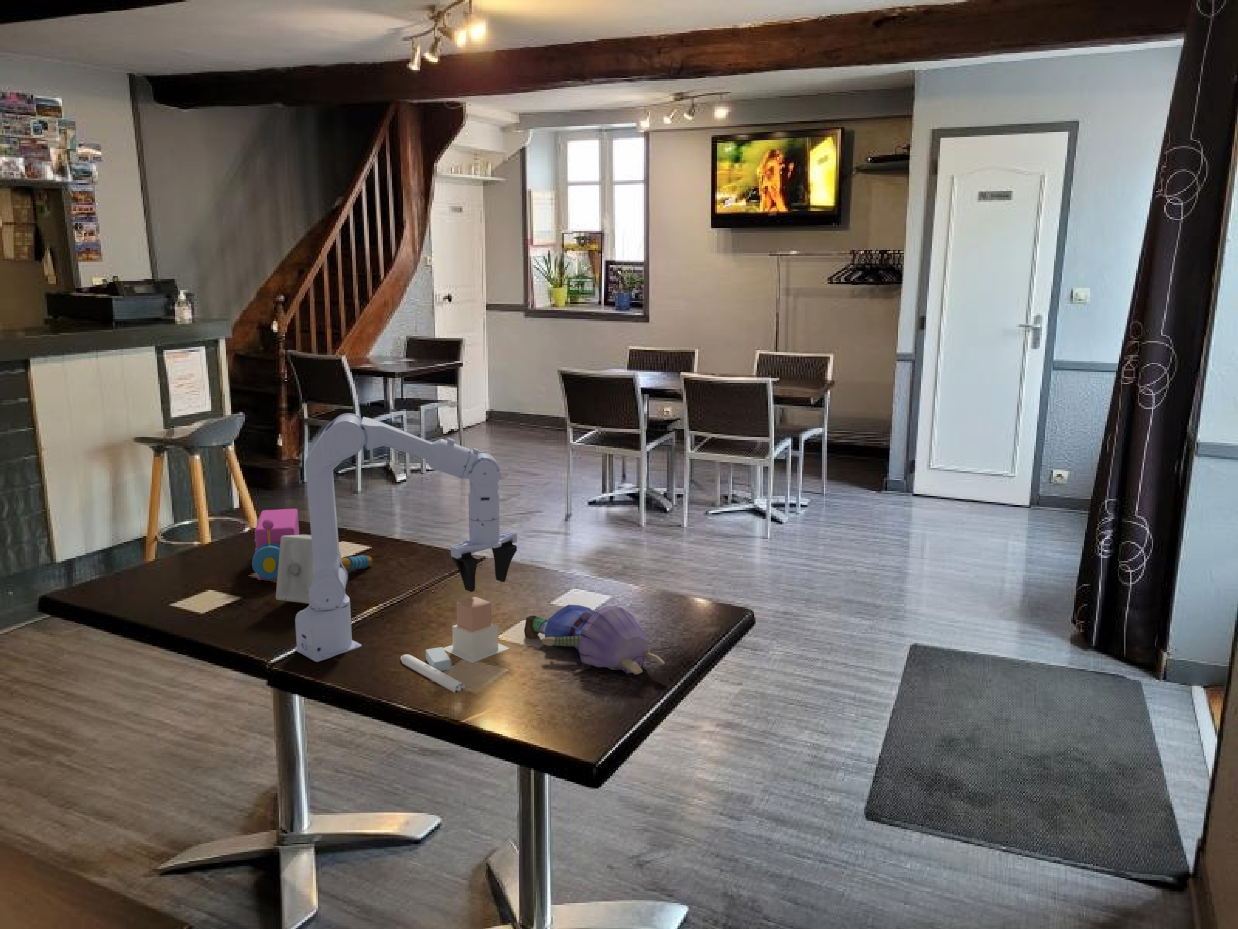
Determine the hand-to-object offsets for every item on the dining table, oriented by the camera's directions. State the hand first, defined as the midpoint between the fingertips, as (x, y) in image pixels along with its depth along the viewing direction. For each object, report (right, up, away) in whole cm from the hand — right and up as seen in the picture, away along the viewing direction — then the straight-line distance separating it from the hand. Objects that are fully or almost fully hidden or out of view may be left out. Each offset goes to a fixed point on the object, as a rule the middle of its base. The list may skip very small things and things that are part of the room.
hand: (485, 585), depth 175 cm
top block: (-1, -7, -5) cm, 9 cm away
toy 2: (+22, -13, -6) cm, 26 cm away
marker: (-8, -14, -15) cm, 22 cm away
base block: (-1, -11, -4) cm, 12 cm away
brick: (-7, -13, -11) cm, 19 cm away
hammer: (-38, -4, +29) cm, 48 cm away
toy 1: (-55, -1, +40) cm, 68 cm away
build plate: (-1, -12, -4) cm, 12 cm away
